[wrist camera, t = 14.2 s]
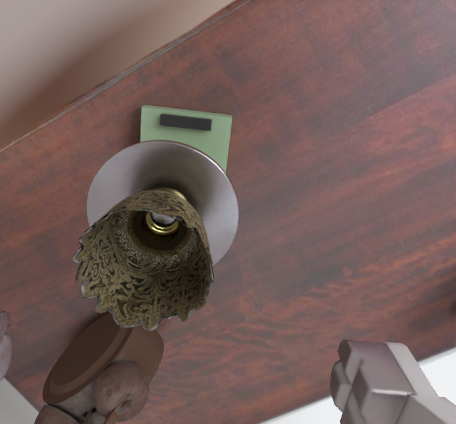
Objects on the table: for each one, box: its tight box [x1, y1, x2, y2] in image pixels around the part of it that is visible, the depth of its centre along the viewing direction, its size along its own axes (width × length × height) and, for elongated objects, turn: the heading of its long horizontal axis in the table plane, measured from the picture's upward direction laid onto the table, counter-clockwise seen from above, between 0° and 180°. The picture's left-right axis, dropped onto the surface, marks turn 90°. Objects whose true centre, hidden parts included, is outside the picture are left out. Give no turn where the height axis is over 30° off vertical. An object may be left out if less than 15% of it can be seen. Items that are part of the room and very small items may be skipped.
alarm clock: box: [34, 312, 164, 424], centre depth 45 cm, size 15×7×20 cm, turn 124°
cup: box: [73, 190, 214, 331], centre depth 24 cm, size 8×7×8 cm
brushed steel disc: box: [87, 140, 239, 266], centre depth 28 cm, size 11×11×2 cm
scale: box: [140, 105, 232, 173], centre depth 37 cm, size 10×10×18 cm
